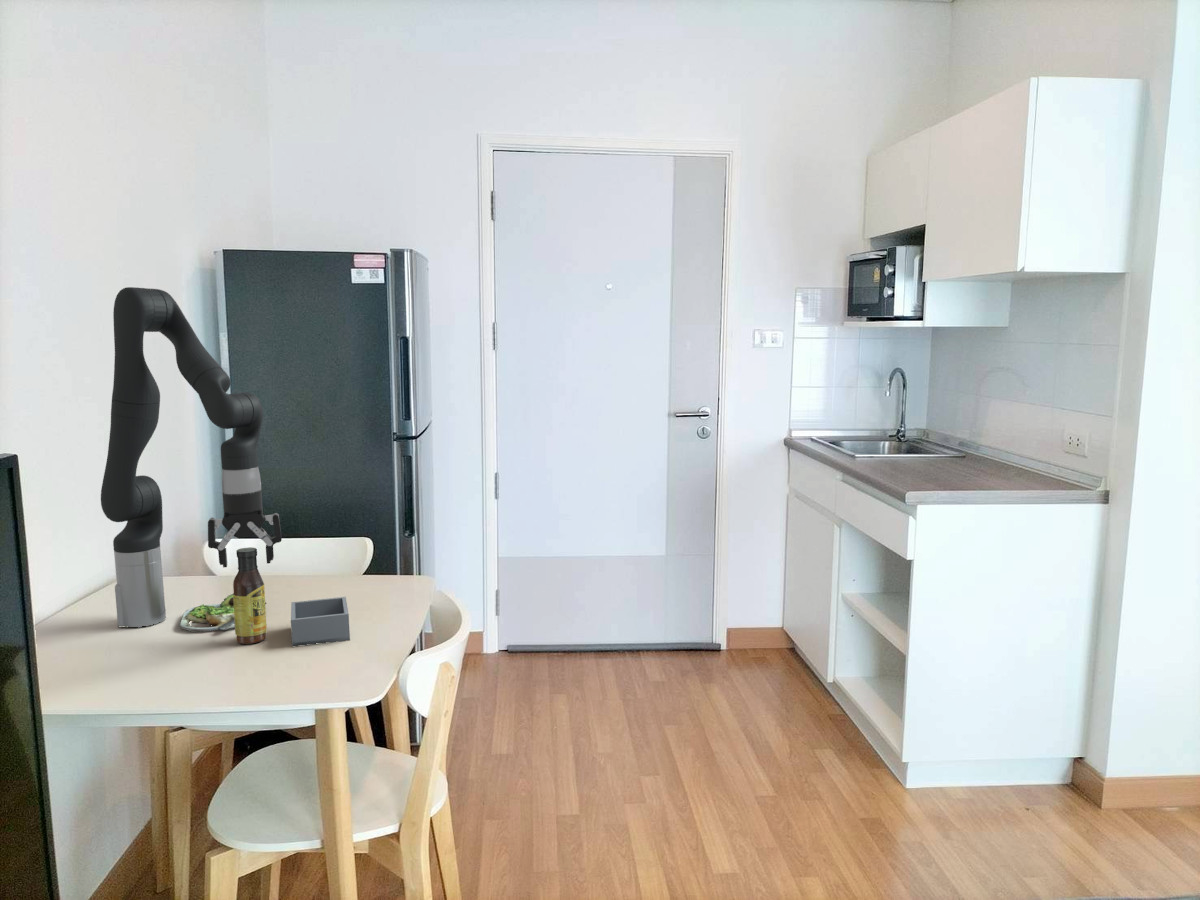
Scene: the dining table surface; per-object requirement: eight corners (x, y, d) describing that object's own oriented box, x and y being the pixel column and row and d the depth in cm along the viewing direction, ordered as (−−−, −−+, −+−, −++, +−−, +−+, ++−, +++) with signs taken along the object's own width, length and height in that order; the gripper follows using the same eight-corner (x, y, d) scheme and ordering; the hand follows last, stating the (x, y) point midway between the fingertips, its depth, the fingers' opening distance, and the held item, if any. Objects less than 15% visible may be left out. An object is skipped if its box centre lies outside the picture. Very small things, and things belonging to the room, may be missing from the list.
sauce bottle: (260, 645, 181) (254, 553, 178) (230, 645, 181) (224, 553, 178) (272, 634, 187) (266, 545, 185) (244, 634, 188) (238, 545, 185)
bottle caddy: (292, 646, 180) (290, 620, 179) (292, 627, 192) (291, 602, 191) (349, 640, 184) (348, 614, 183) (346, 621, 196) (345, 596, 195)
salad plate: (262, 632, 190) (260, 612, 189) (172, 642, 184) (171, 621, 184) (268, 605, 208) (266, 587, 207) (187, 613, 203) (185, 594, 202)
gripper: (202, 494, 174) (208, 572, 176) (277, 489, 178) (282, 565, 181) (206, 488, 181) (212, 563, 183) (278, 483, 185) (283, 556, 188)
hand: (247, 564), depth 182 cm, fingers open, 8 cm apart
